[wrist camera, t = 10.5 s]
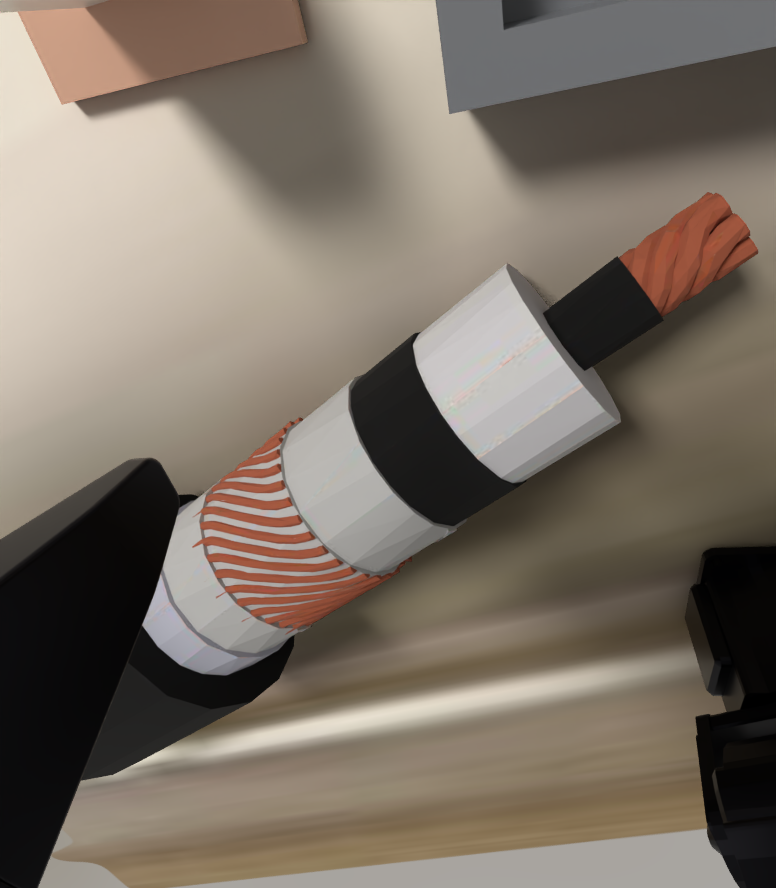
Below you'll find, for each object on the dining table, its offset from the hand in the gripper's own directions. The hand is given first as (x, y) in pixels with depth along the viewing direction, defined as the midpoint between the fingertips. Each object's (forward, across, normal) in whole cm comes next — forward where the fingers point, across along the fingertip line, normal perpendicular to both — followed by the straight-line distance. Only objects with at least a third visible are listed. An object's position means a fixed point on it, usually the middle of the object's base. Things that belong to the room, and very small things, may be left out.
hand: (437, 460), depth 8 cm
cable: (+13, +7, +10) cm, 18 cm away
